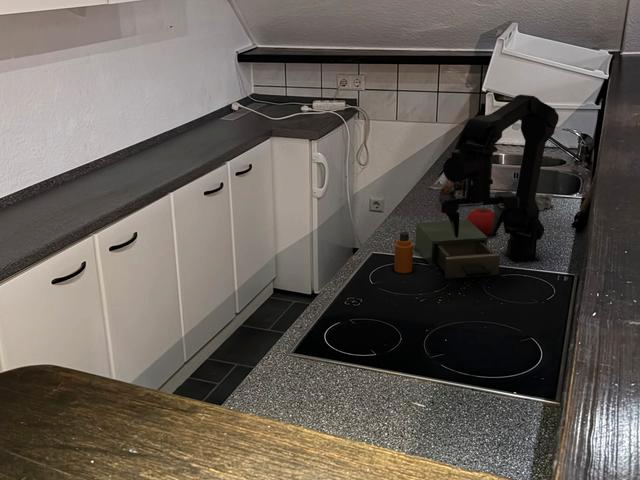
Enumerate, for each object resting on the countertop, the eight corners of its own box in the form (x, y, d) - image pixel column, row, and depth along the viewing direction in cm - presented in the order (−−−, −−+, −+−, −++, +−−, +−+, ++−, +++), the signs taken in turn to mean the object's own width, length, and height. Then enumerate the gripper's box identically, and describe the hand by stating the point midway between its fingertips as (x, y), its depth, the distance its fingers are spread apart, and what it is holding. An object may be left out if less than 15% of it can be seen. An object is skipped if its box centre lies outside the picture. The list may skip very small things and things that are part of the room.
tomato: (484, 227, 224) (486, 201, 222) (503, 236, 217) (505, 209, 214) (459, 231, 221) (460, 205, 218) (478, 241, 214) (479, 214, 211)
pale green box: (485, 262, 199) (487, 237, 196) (431, 266, 197) (432, 241, 195) (466, 243, 212) (468, 219, 210) (415, 247, 211) (416, 222, 208)
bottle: (409, 265, 198) (410, 229, 195) (414, 272, 194) (415, 235, 190) (392, 267, 198) (393, 230, 194) (396, 273, 194) (397, 236, 190)
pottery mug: (440, 196, 255) (454, 176, 252) (463, 212, 252) (478, 191, 249) (430, 197, 244) (444, 175, 242) (454, 214, 241) (468, 192, 238)
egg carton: (554, 207, 240) (555, 195, 238) (538, 212, 236) (539, 199, 234) (526, 199, 248) (527, 187, 247) (511, 203, 244) (512, 191, 243)
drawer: (505, 281, 185) (507, 261, 183) (451, 285, 184) (453, 265, 182) (479, 255, 201) (480, 236, 199) (429, 258, 200) (430, 239, 198)
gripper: (504, 162, 186) (499, 222, 192) (429, 166, 185) (427, 227, 190) (522, 174, 176) (517, 237, 182) (443, 179, 174) (440, 242, 180)
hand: (474, 235), depth 184 cm, fingers open, 9 cm apart
